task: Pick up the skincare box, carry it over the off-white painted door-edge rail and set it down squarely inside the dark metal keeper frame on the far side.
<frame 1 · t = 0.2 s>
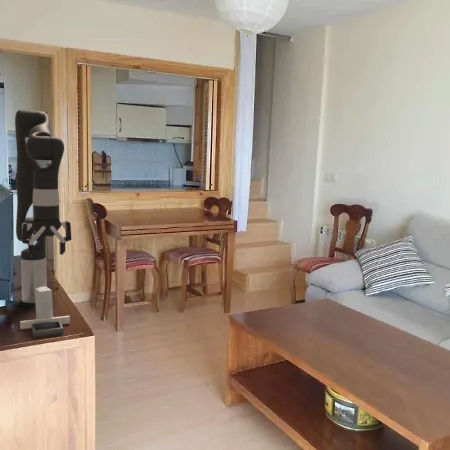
hand: (47, 255, 147), 28 cm above the table, fingers open, 8 cm apart
keeper frame: (47, 331, 160), on the table
door edge rail: (45, 326, 164), on the table
skincare box: (44, 322, 168), on the table
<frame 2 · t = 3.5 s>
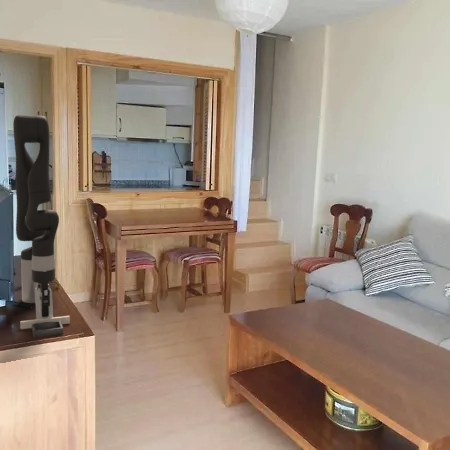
hand: (44, 313, 168), 3 cm above the table, fingers closed on skincare box, 6 cm apart
skincare box: (44, 322, 168), on the table, touching gripper
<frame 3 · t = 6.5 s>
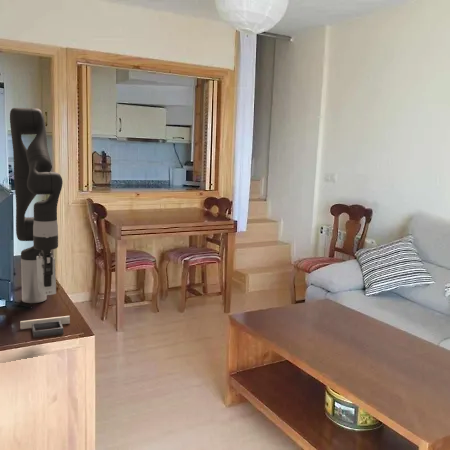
hand: (46, 283, 157), 17 cm above the table, fingers closed on skincare box, 6 cm apart
skincare box: (46, 293, 158), point 13 cm above the table, touching gripper
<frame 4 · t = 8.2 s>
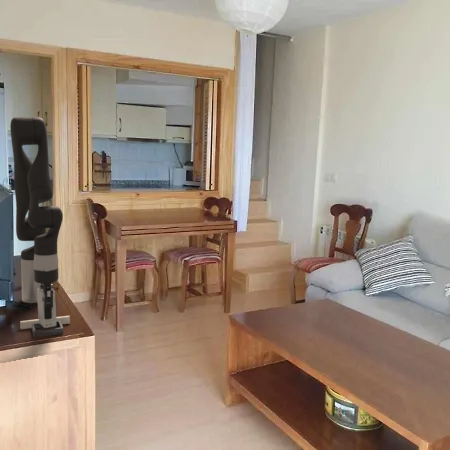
hand: (46, 315, 159), 6 cm above the table, fingers closed on skincare box, 6 cm apart
skincare box: (46, 324, 159), point 2 cm above the table, touching gripper
when the fingers open (5 cm above the table, at t = 9.5 s): skincare box stays where it is, resting on keeper frame.
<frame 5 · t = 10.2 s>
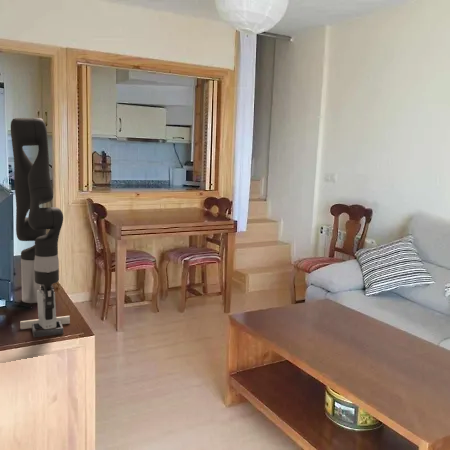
hand: (47, 314, 159), 6 cm above the table, fingers open, 8 cm apart
skincare box: (46, 326, 160), point 2 cm above the table, touching keeper frame
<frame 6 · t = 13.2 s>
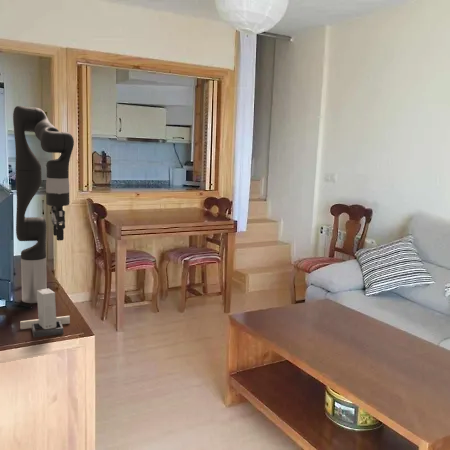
hand: (58, 237, 165), 30 cm above the table, fingers open, 8 cm apart
nothing on the table moved.
at the end: skincare box 0.1 cm from the target spot, point 1.8 cm above the table; skincare box tilted 0°; the gripper is holding nothing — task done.
